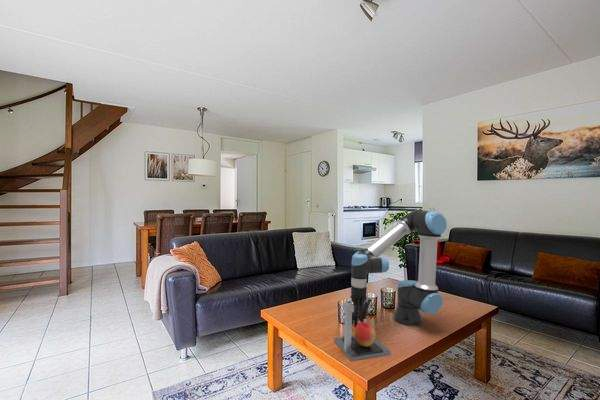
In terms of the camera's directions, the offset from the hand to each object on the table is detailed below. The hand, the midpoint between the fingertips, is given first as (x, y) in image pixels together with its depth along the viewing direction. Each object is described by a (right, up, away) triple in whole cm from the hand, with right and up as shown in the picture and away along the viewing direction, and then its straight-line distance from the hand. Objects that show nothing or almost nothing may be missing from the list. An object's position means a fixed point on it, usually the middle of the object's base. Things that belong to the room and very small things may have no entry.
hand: (357, 333), depth 146 cm
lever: (-5, -2, -1) cm, 6 cm away
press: (+1, -4, -6) cm, 7 cm away
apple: (+2, -2, -9) cm, 9 cm away
